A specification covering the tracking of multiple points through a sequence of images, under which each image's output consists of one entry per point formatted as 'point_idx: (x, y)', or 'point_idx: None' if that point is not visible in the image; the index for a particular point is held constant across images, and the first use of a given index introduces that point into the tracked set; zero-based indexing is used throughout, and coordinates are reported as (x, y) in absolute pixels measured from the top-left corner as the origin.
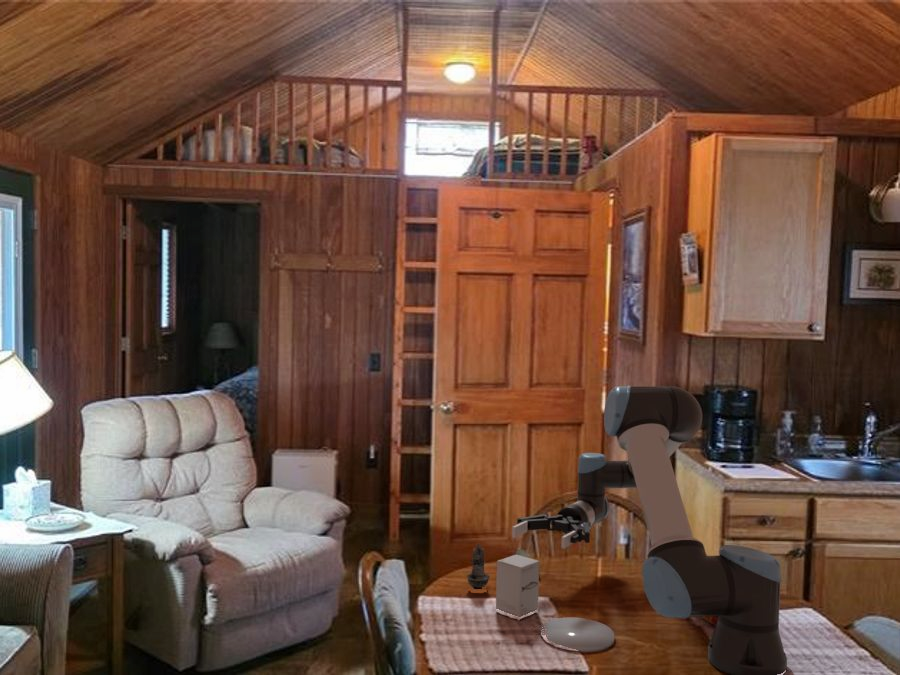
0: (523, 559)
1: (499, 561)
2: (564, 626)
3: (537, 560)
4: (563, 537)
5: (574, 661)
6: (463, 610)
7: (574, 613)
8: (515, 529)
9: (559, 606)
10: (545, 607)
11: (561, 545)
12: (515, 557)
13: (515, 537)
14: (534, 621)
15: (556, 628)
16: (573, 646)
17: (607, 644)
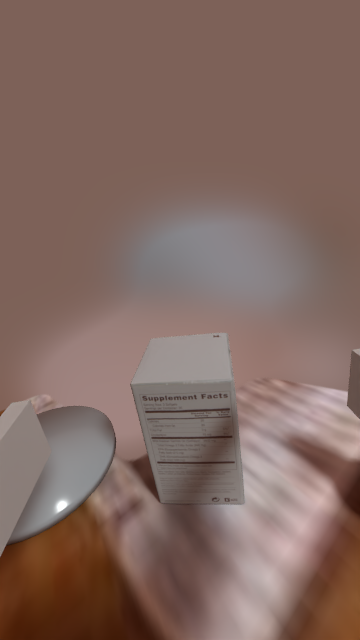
0: (176, 363)
1: (219, 333)
2: (68, 458)
3: (136, 382)
4: (18, 402)
5: (42, 401)
6: (289, 409)
7: (59, 593)
8: (355, 367)
9: (124, 620)
10: (163, 564)
11: (46, 440)
12: (206, 360)
13: (353, 411)
14: (145, 461)
15: (83, 441)
16: (43, 413)
17: None
